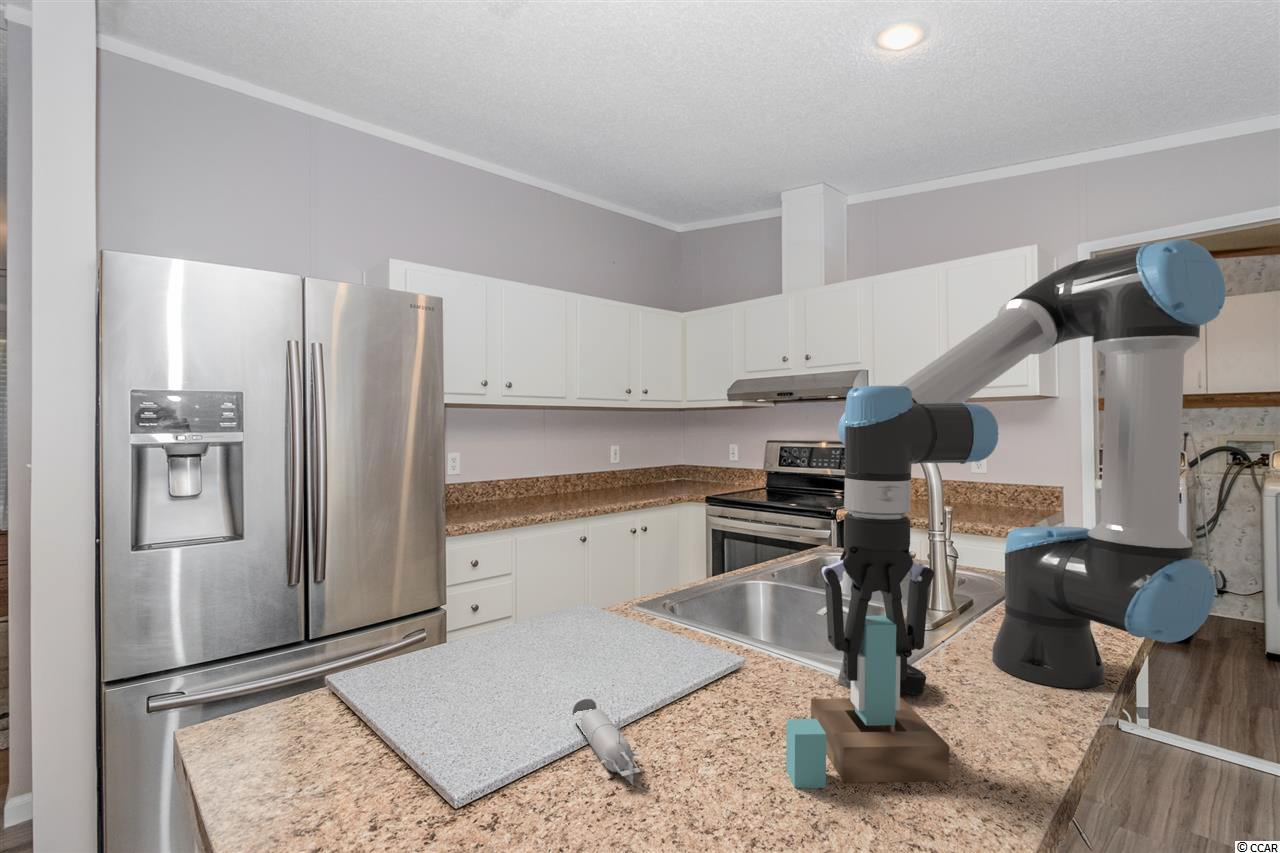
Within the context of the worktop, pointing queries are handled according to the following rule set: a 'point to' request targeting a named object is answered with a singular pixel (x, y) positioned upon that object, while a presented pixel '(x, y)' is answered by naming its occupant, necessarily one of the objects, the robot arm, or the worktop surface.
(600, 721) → the torpedo
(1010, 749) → the worktop surface
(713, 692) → the worktop surface
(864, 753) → the hole block
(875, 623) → the long pin
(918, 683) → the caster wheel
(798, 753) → the short pin
